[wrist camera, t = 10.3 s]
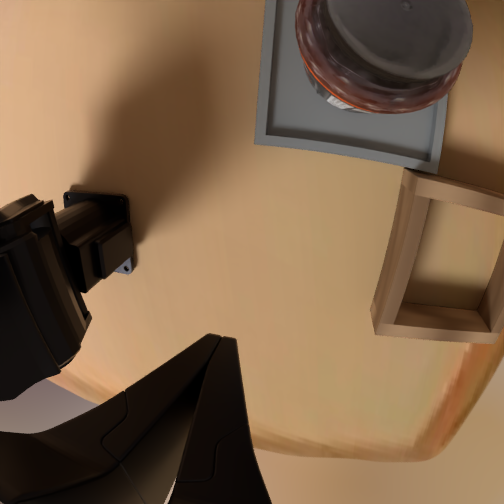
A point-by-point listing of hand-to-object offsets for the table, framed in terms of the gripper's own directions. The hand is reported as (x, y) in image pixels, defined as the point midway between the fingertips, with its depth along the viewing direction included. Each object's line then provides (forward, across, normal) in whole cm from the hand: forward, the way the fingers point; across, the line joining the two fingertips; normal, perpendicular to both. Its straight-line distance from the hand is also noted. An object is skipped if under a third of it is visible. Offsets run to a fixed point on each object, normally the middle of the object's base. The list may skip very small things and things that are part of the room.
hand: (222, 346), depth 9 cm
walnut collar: (+13, -13, +1) cm, 18 cm away
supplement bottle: (+12, -4, -10) cm, 16 cm away
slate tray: (+13, -4, -10) cm, 17 cm away
